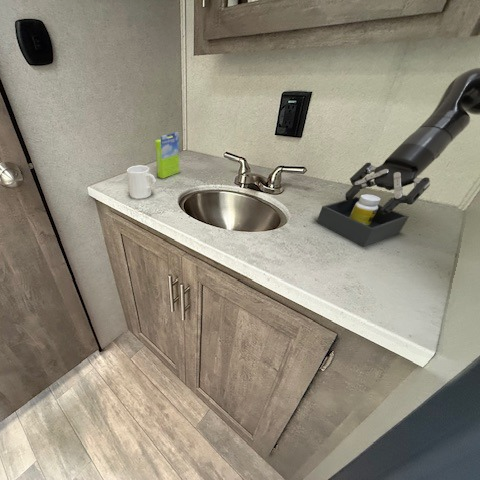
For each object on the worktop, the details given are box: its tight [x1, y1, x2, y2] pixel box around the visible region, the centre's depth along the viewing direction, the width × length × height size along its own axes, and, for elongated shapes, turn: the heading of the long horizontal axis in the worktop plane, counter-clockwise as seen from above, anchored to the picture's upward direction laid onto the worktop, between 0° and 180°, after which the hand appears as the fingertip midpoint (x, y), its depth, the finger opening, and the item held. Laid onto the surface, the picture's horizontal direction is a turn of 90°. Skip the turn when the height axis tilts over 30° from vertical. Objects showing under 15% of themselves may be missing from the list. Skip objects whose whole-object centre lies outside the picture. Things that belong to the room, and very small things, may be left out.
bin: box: [316, 196, 410, 248], centre depth 65 cm, size 13×13×5 cm
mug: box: [126, 164, 157, 200], centre depth 88 cm, size 8×12×10 cm
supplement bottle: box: [349, 193, 381, 226], centre depth 63 cm, size 5×5×8 cm
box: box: [154, 131, 180, 179], centre depth 103 cm, size 10×4×17 cm, turn 132°
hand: (363, 205), depth 62 cm, fingers open, 8 cm apart
